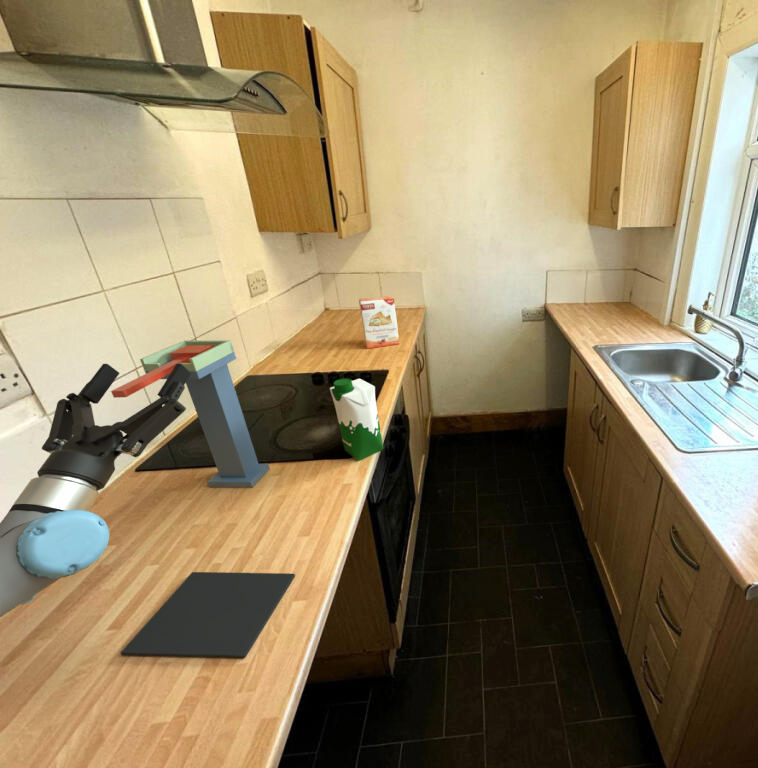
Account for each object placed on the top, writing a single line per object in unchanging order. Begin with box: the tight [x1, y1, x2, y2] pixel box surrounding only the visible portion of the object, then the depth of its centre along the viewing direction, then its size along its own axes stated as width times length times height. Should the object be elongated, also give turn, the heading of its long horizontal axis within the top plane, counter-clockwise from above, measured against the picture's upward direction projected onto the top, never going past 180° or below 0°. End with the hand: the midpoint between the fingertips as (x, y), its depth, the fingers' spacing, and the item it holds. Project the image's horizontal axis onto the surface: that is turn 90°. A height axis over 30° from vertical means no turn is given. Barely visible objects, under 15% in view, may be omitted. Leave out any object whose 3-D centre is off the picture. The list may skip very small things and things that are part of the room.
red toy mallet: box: [110, 345, 214, 399], centre depth 77 cm, size 6×21×2 cm, turn 2°
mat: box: [120, 571, 296, 659], centre depth 65 cm, size 18×14×1 cm
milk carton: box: [329, 378, 384, 462], centre depth 103 cm, size 9×9×20 cm
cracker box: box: [358, 295, 400, 349], centre depth 180 cm, size 14×6×21 cm, turn 115°
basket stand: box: [139, 339, 271, 489], centre depth 88 cm, size 10×11×32 cm
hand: (147, 368), depth 73 cm, fingers open, 12 cm apart
